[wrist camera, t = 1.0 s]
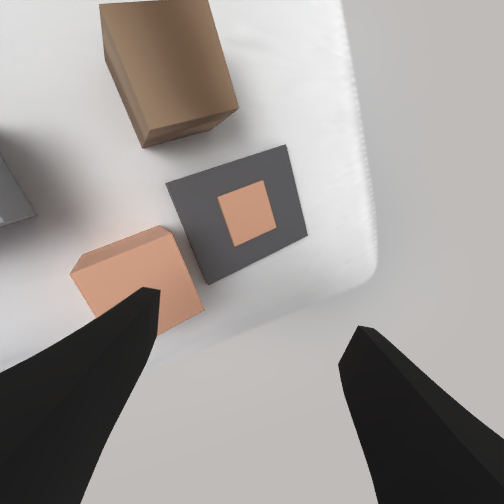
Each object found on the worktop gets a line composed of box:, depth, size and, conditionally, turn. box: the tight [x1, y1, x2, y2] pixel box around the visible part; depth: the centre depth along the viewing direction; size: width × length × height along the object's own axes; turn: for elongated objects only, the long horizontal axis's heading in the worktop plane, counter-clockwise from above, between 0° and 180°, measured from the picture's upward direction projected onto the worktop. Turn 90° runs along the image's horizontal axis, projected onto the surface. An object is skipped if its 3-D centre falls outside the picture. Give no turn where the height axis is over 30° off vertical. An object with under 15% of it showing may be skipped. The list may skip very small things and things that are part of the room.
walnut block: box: [99, 0, 239, 148], centre depth 15 cm, size 5×5×5 cm
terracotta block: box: [70, 226, 205, 335], centre depth 16 cm, size 5×5×5 cm
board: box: [165, 144, 308, 285], centre depth 20 cm, size 10×8×1 cm
